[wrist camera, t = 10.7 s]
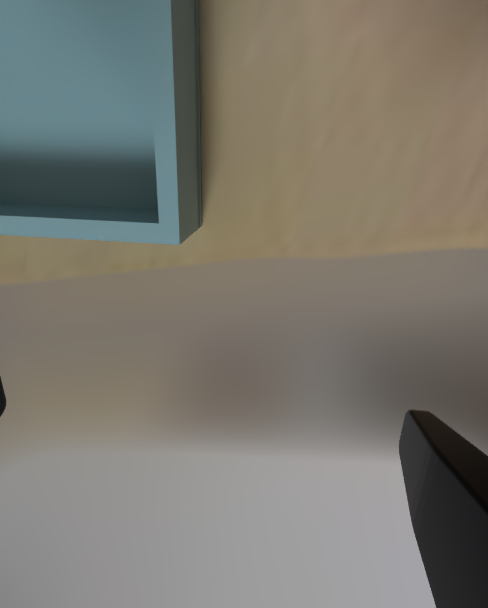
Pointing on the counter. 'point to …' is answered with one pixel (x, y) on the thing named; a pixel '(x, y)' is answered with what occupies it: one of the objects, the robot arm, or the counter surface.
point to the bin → (100, 119)
